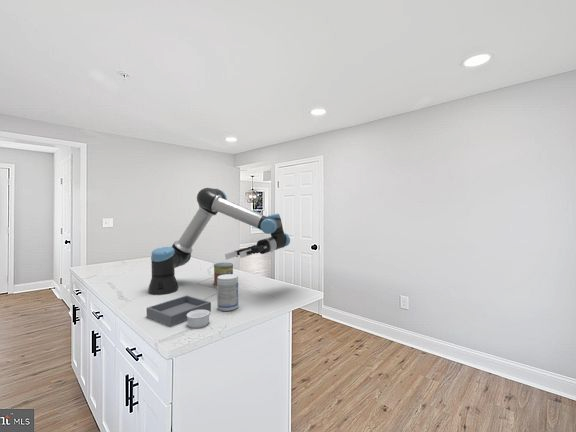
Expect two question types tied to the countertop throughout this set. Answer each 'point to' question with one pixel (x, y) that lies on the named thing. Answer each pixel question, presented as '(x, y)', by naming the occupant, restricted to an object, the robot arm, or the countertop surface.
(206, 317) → the ramekin
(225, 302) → the supplement tub
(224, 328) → the countertop surface
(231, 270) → the canned food
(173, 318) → the tray
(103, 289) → the countertop surface
